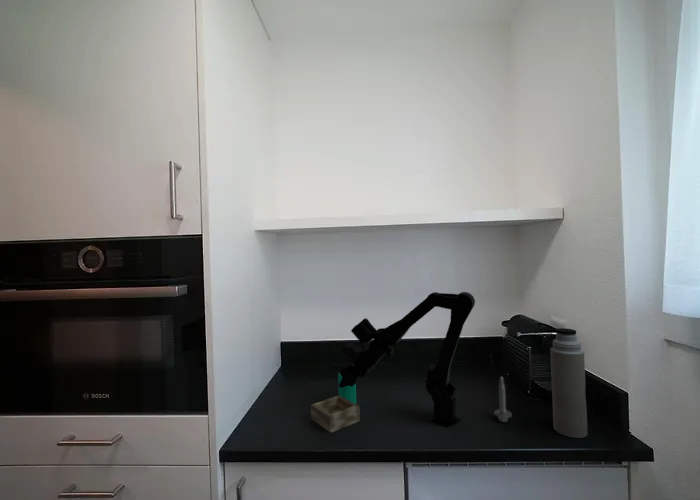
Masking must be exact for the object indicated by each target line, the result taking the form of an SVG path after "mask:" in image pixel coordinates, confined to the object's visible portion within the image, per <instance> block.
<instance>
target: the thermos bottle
mask: <svg viewBox="0 0 700 500" xmlns="http://www.w3.org/2000/svg"><path fill="white" fill-rule="evenodd" d="M555 333H556V334H555V339H553V340H552V347H550V350H549V351H550V371H551V373H550V374H551V376H550V377H551V392H552V393H551V395H552V419H553V420H552V423H553V429H554V430H555V432H557V433H559V434H560V435H563V436H566V437H570V438H575V439H581V438H582V439H583V438H585V437H587V436H588V417H587V416H588V413H587V412H588V411H587V398H586V366H585V351H584V350H582V344H581V342H580V341H579V340H578V339H577V330H575V329H572V328H564V327H563V328H562V327H561V328H555Z"/></svg>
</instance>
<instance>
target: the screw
mask: <svg viewBox="0 0 700 500" xmlns="http://www.w3.org/2000/svg"><path fill="white" fill-rule="evenodd" d="M498 383H499V384H498V392H499V393H498V396H499V397H498V400H499V401H498V402H499V405H498V406H499V407H498V409H495V410H494V411H493V414H494V415H495V416H496V417H497V419H498V421H499V422H502V423H508V421H509V419H510V418H512V416H513V414H512V412H511V411H510V410H507V401H506V400H507V397H506V396H507V395H506V384H505V380H504V377H503V376H500V377H499V382H498Z"/></svg>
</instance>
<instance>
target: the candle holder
mask: <svg viewBox="0 0 700 500" xmlns="http://www.w3.org/2000/svg"><path fill="white" fill-rule="evenodd" d="M360 411H361V407H360V405H358V404H357V403H356V404H355V403H353V402H351V401H349V400H347V399H345V398H343V397H341V396H339V395H337V396H333V397H330V398H327V399H324V400H322V401H319V402H315V403H312V404H310V420H311V421H313V422H314V423H316V424H317V425H319V426H320V427H322V428H323V429H325V430H326V431H328V432H329V433H334V432H336V431H339V430H341V429H343V428H347V427H349V426H351V425H355V424H357V423H358V422H361V412H360Z"/></svg>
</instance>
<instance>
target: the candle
mask: <svg viewBox="0 0 700 500" xmlns="http://www.w3.org/2000/svg"><path fill="white" fill-rule="evenodd" d="M337 375H338V377H337V379H338V381H337V383H338V385H339V384H340V382H341V380H342V378H343V377H342V376H341V374H340V373H339V372H338V374H337ZM356 384H357V383H356ZM356 384H355V385H353V386H352V387H351V386H350V385H349V386H346V387H342V388H340V387H339V386H338V396H341V397H343V398H345V399H347V400H349V401H351V402H353V403H355V404H357V385H356Z"/></svg>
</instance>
